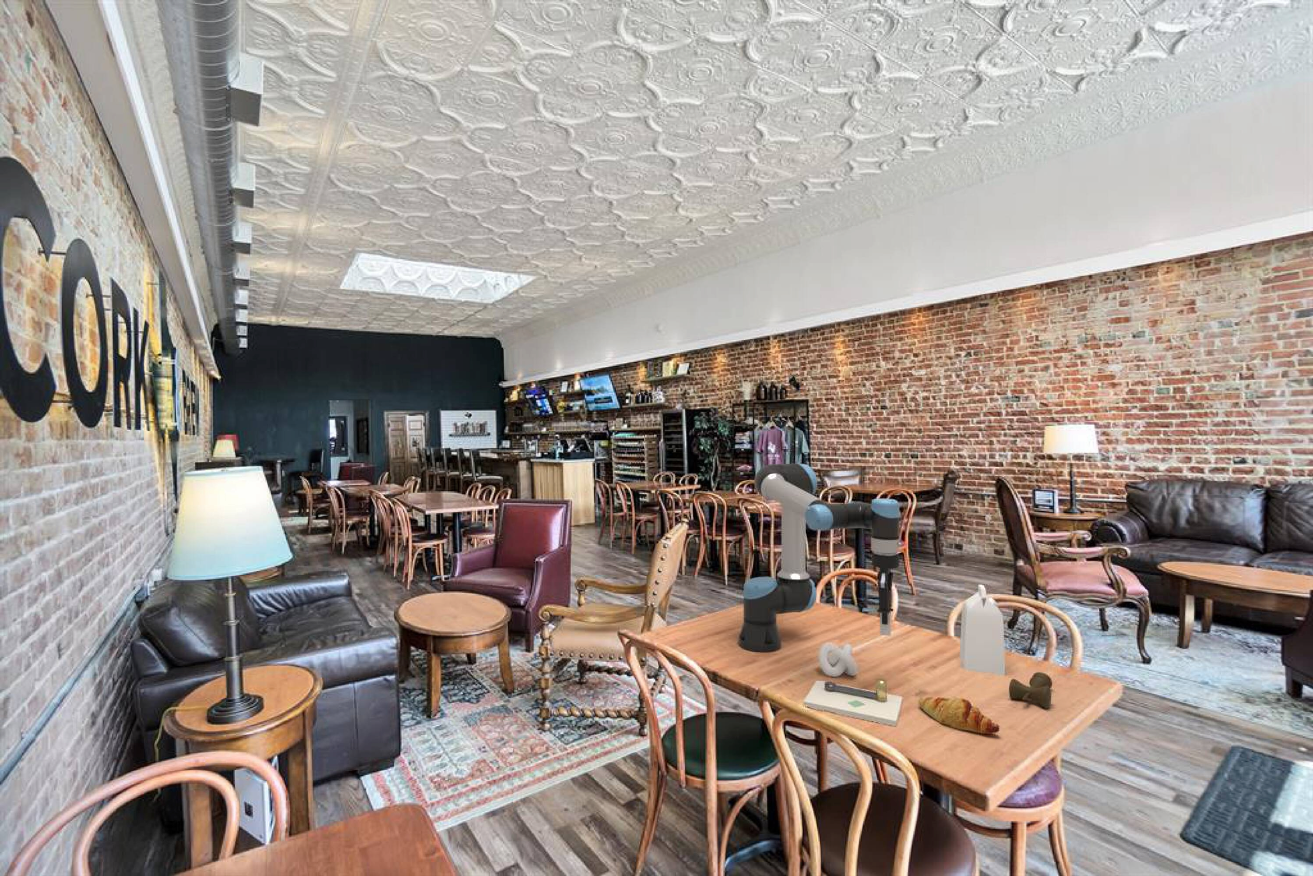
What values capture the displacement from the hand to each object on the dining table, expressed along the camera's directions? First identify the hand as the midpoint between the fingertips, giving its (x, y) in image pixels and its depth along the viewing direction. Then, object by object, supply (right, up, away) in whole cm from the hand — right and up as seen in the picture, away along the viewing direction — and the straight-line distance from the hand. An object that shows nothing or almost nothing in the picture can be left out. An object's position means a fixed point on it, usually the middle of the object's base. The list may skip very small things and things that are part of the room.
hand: (885, 634), depth 172 cm
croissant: (+13, -18, -15) cm, 27 cm away
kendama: (+42, -18, -1) cm, 46 cm away
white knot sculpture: (-8, -18, +17) cm, 26 cm away
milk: (+40, -18, +22) cm, 49 cm away
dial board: (-11, -18, -5) cm, 22 cm away
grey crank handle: (-10, -16, -3) cm, 19 cm away
